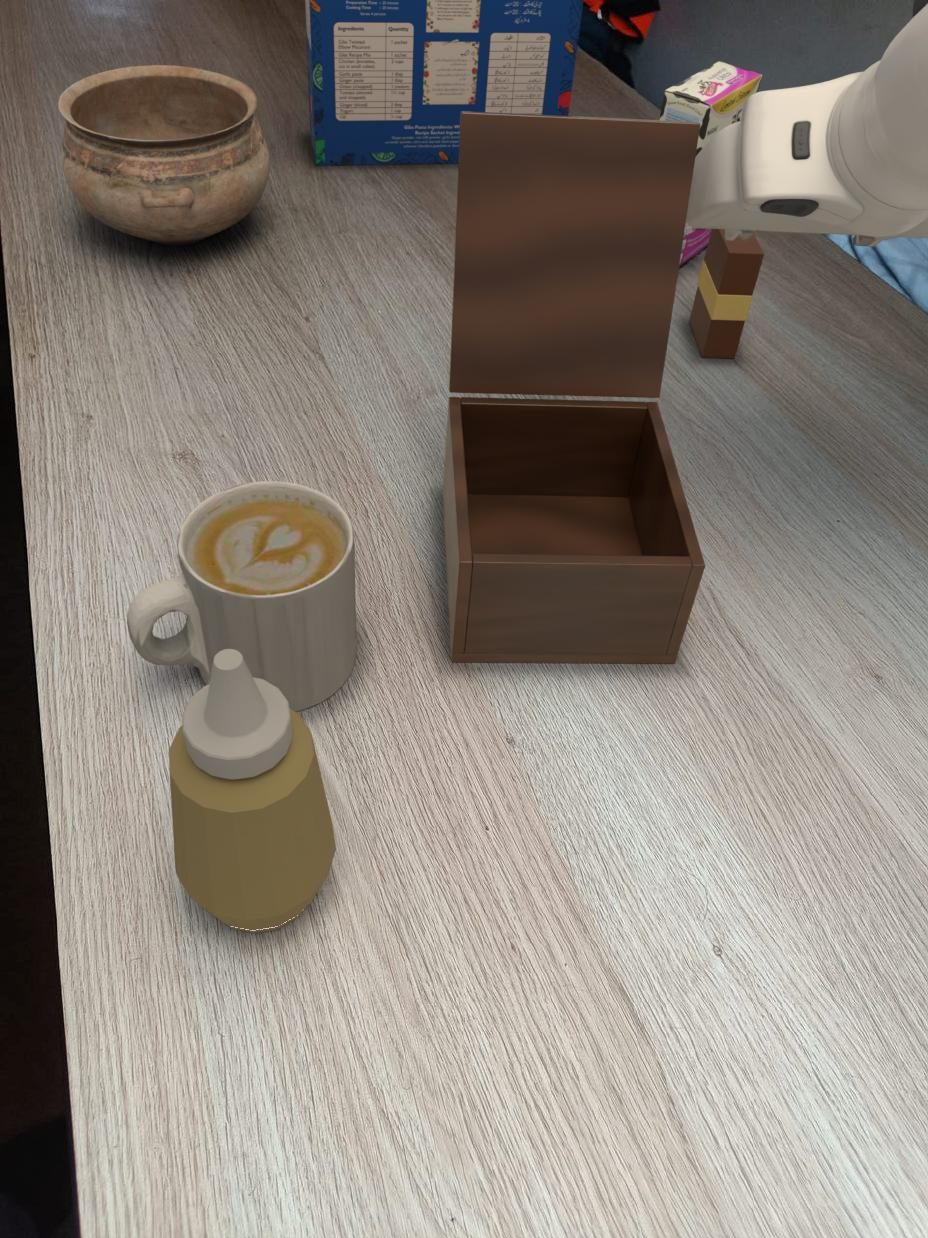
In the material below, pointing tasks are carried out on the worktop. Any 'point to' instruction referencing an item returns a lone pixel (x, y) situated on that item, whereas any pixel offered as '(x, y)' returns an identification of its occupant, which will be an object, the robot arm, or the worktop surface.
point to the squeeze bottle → (248, 802)
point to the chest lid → (567, 252)
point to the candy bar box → (708, 118)
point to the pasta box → (430, 72)
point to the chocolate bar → (724, 293)
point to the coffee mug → (260, 590)
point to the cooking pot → (164, 151)
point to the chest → (565, 533)
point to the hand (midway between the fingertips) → (798, 232)
